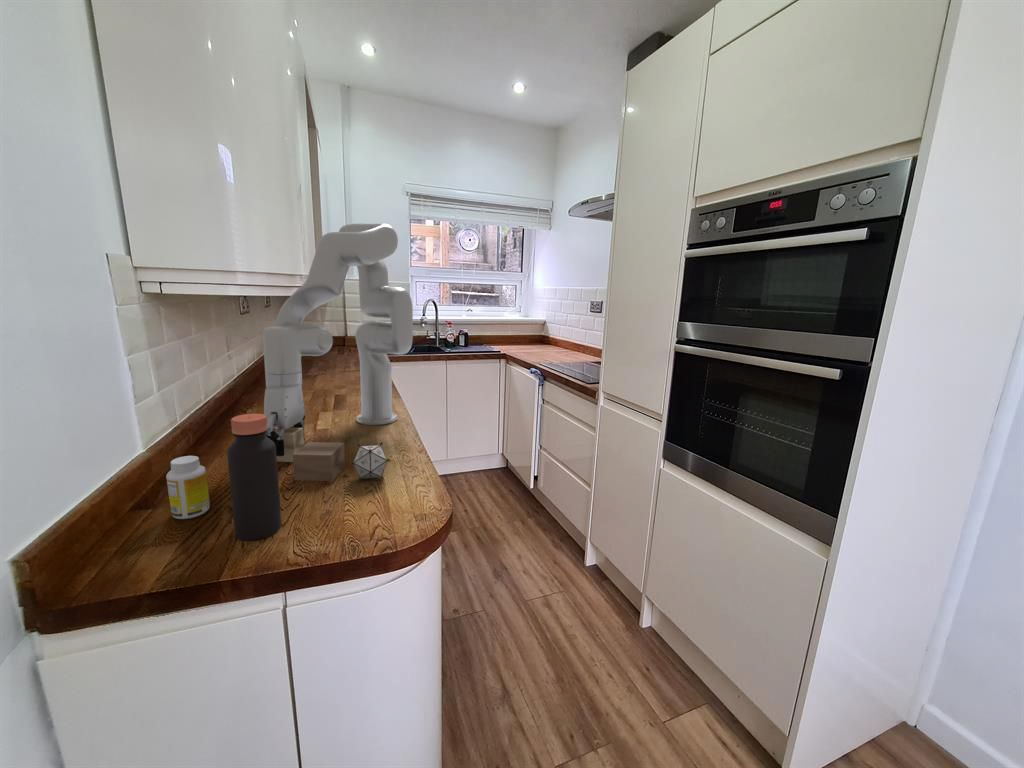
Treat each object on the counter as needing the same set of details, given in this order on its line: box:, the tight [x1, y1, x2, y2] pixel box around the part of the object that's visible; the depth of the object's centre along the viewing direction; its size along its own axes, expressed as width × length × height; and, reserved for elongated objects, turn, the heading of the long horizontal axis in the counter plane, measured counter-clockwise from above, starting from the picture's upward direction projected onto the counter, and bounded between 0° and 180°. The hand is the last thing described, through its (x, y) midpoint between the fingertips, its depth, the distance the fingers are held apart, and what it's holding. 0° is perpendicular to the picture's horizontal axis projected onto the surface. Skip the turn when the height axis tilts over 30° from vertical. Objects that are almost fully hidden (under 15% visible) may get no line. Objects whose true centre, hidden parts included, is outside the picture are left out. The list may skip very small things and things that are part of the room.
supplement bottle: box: [165, 455, 211, 520], centre depth 74 cm, size 6×6×10 cm
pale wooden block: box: [275, 427, 305, 463], centre depth 101 cm, size 5×5×7 cm
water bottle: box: [226, 413, 282, 542], centre depth 69 cm, size 7×7×20 cm
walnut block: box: [292, 441, 346, 482], centre depth 94 cm, size 8×8×6 cm
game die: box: [349, 441, 391, 483], centre depth 92 cm, size 9×8×10 cm
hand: (287, 448), depth 101 cm, fingers open, 9 cm apart
